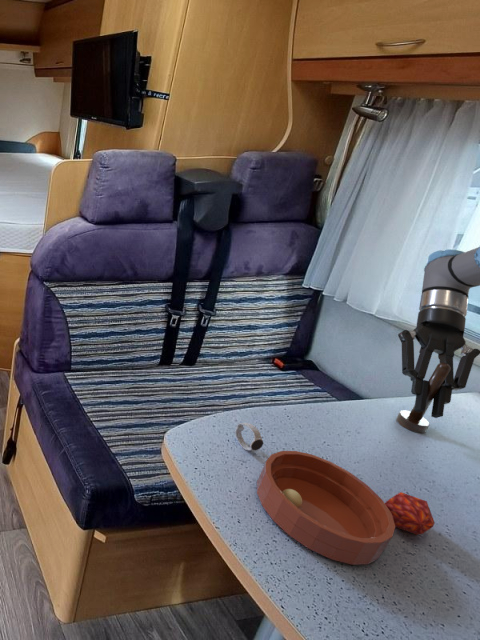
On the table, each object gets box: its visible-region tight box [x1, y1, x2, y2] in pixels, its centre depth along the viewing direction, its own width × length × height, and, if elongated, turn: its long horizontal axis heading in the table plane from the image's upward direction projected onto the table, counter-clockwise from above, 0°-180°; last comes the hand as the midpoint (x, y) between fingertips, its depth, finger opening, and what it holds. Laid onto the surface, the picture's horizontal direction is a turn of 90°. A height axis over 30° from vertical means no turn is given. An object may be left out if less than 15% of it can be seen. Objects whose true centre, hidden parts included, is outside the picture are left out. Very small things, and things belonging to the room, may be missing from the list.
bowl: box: [256, 450, 396, 566], centre depth 78 cm, size 18×18×6 cm
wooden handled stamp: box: [395, 362, 451, 434], centre depth 100 cm, size 5×5×16 cm
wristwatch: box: [234, 422, 264, 451], centre depth 92 cm, size 3×5×5 cm, turn 11°
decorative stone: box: [384, 491, 436, 536], centre depth 77 cm, size 6×7×8 cm
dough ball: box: [282, 489, 302, 508], centre depth 79 cm, size 3×3×3 cm
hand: (428, 413), depth 98 cm, fingers open, 2 cm apart
